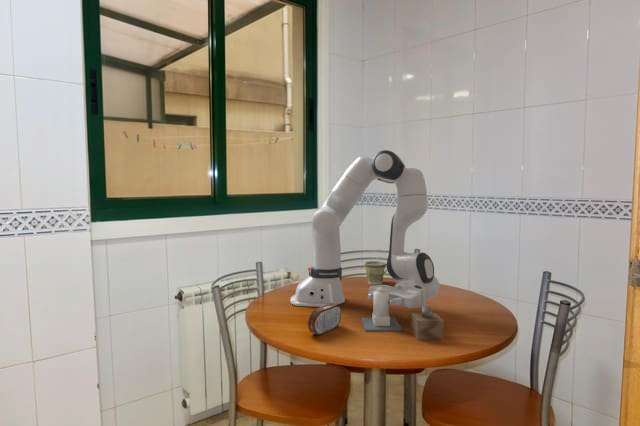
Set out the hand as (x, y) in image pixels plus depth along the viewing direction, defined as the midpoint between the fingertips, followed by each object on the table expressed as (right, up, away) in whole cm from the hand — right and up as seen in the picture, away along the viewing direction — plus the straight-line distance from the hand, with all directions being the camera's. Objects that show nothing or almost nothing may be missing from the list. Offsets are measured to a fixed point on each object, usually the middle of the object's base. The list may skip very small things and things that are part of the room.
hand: (379, 299), depth 138 cm
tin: (-18, -10, -4) cm, 21 cm away
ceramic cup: (+8, -5, +61) cm, 62 cm away
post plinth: (+14, -9, -9) cm, 19 cm away
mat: (+1, -9, +1) cm, 9 cm away
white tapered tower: (+1, -8, +1) cm, 8 cm away
